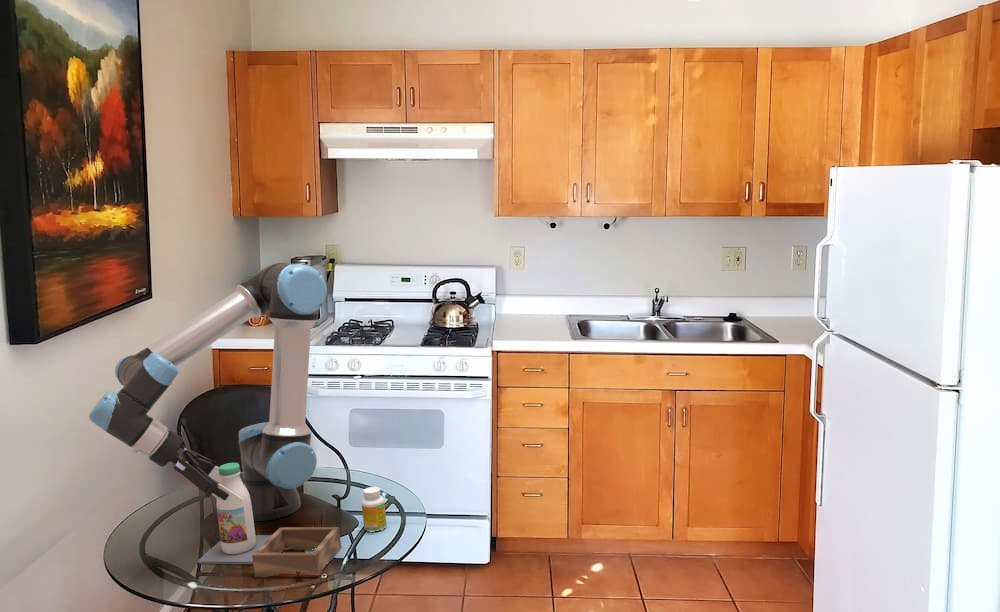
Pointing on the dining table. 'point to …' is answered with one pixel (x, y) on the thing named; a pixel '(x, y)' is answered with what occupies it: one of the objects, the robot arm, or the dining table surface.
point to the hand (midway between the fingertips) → (237, 494)
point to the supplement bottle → (373, 510)
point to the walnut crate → (302, 538)
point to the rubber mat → (220, 557)
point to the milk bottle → (235, 514)
